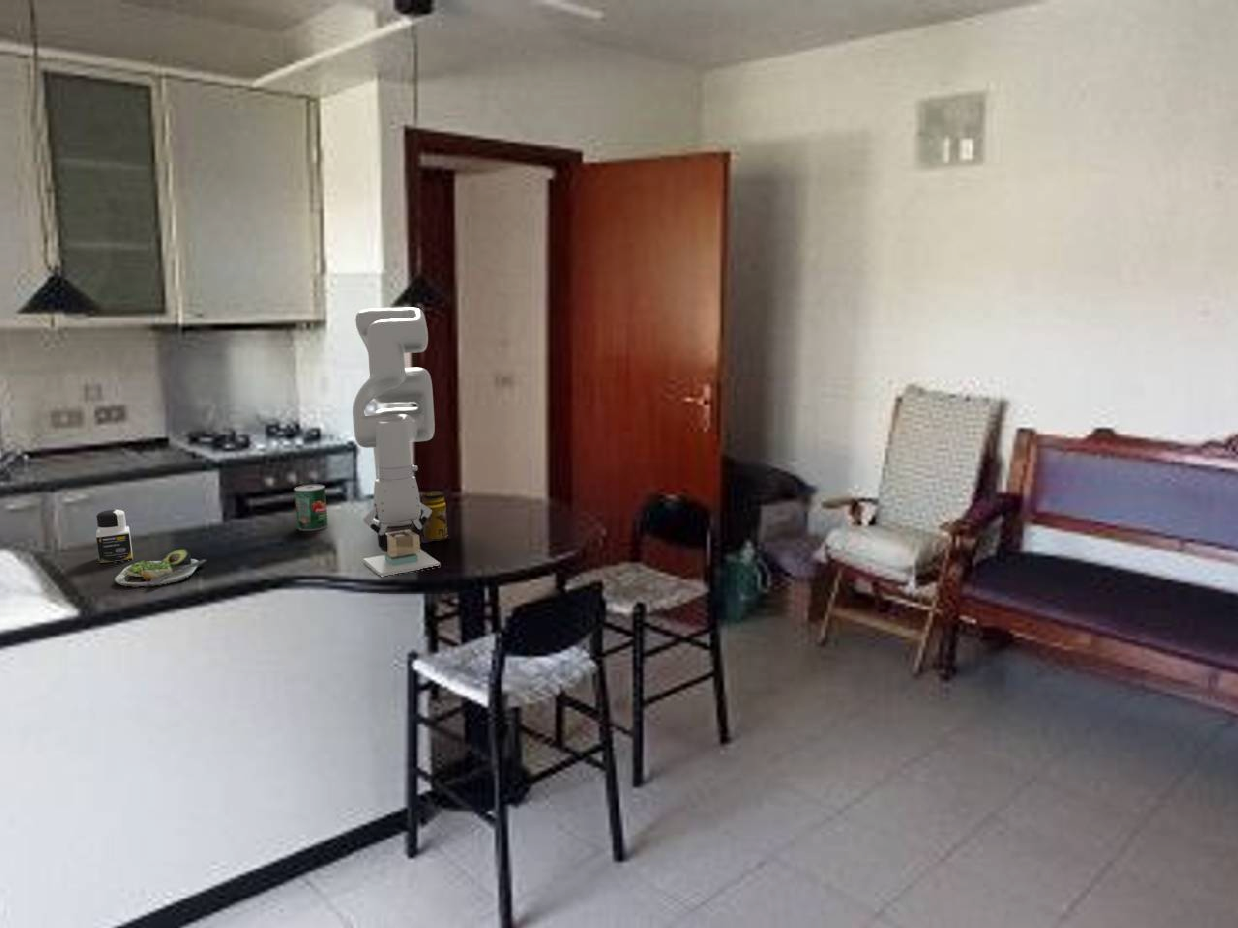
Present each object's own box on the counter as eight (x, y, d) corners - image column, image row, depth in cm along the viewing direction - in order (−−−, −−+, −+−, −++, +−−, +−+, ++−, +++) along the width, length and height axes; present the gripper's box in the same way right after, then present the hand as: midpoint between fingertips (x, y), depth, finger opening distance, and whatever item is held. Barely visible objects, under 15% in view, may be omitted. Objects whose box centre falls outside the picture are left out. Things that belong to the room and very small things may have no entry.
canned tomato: (327, 529, 254) (323, 489, 252) (296, 531, 252) (292, 491, 250) (328, 522, 262) (325, 483, 260) (299, 524, 260) (295, 485, 258)
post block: (363, 562, 223) (361, 534, 221) (420, 552, 230) (418, 525, 228) (381, 577, 211) (378, 547, 209) (440, 566, 218) (438, 537, 216)
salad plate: (190, 588, 207) (188, 568, 207) (103, 595, 204) (100, 574, 203) (210, 563, 226) (208, 545, 225) (130, 569, 223) (128, 550, 222)
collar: (381, 550, 221) (380, 533, 220) (410, 545, 224) (409, 529, 223) (390, 557, 215) (389, 540, 214) (420, 552, 218) (419, 535, 217)
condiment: (453, 539, 242) (450, 493, 239) (422, 544, 237) (419, 498, 235) (442, 533, 248) (439, 488, 245) (411, 538, 243) (408, 493, 241)
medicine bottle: (99, 564, 226) (93, 516, 224) (100, 557, 232) (93, 510, 230) (132, 560, 229) (126, 512, 227) (132, 553, 235) (126, 506, 233)
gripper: (425, 466, 223) (430, 538, 227) (353, 475, 215) (358, 550, 218) (436, 471, 217) (441, 545, 221) (362, 480, 208) (368, 557, 212)
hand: (400, 547), depth 219 cm, fingers closed on collar, 7 cm apart
